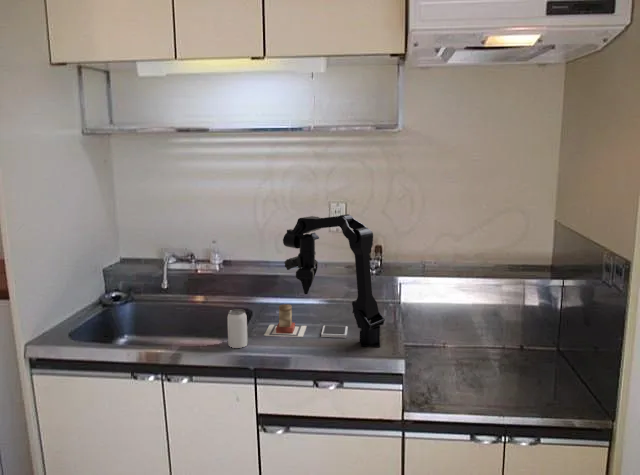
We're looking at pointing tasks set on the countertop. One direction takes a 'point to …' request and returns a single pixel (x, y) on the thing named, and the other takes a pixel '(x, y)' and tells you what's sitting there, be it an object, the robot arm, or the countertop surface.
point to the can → (237, 328)
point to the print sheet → (297, 332)
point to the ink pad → (334, 331)
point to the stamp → (285, 320)
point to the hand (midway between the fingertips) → (307, 290)
